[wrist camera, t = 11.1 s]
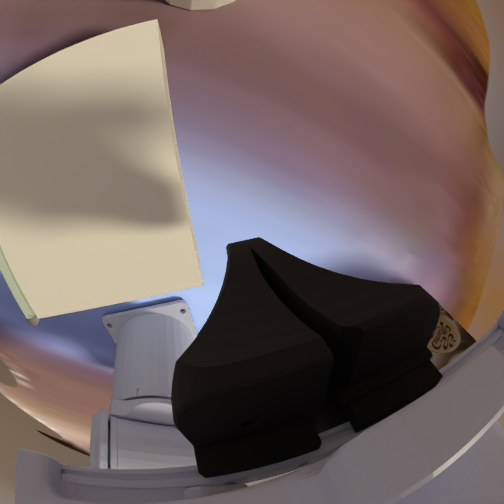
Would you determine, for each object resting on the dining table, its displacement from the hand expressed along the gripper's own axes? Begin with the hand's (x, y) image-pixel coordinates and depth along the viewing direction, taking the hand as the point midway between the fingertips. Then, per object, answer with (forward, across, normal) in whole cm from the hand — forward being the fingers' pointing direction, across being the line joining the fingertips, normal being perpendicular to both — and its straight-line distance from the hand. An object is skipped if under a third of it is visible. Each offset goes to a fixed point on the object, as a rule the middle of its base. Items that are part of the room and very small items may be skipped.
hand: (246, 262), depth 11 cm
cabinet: (+9, +8, -4) cm, 13 cm away
